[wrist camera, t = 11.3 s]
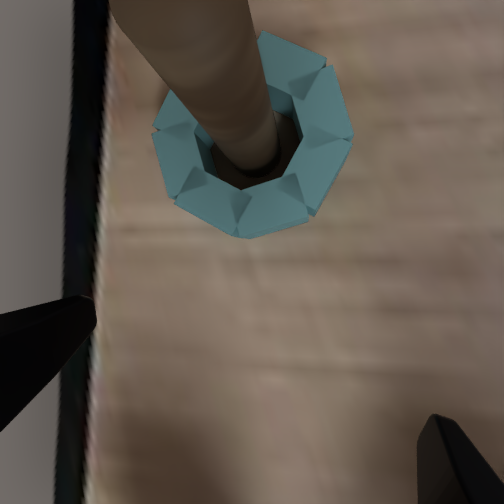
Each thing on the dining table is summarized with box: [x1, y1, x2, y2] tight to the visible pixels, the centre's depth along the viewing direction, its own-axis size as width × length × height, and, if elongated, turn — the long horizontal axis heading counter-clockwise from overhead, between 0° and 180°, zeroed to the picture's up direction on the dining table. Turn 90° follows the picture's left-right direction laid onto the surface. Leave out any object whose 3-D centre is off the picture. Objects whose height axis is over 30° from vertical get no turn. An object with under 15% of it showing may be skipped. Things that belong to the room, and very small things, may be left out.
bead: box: [152, 30, 354, 239], centre depth 18 cm, size 10×10×3 cm
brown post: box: [109, 0, 281, 178], centre depth 13 cm, size 3×3×12 cm
